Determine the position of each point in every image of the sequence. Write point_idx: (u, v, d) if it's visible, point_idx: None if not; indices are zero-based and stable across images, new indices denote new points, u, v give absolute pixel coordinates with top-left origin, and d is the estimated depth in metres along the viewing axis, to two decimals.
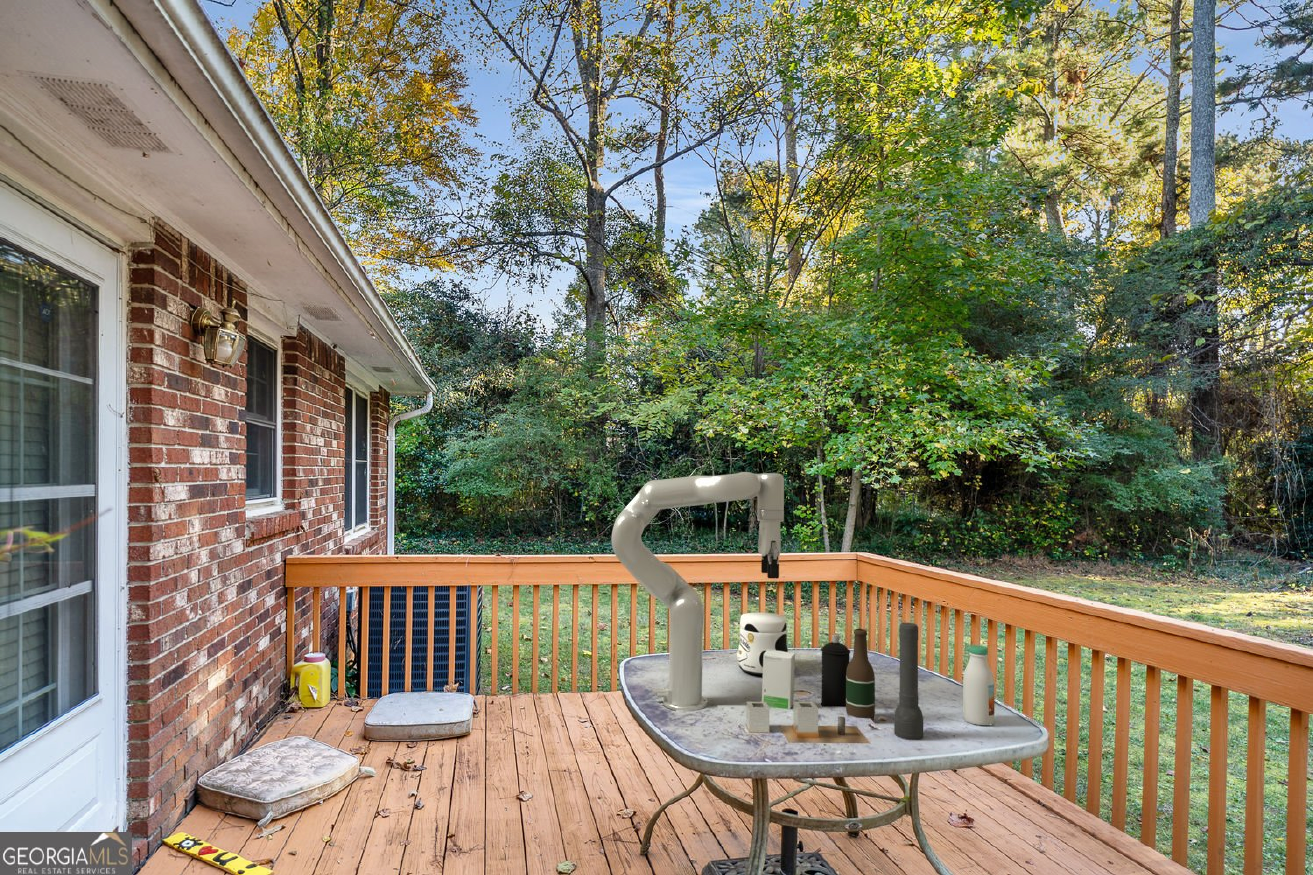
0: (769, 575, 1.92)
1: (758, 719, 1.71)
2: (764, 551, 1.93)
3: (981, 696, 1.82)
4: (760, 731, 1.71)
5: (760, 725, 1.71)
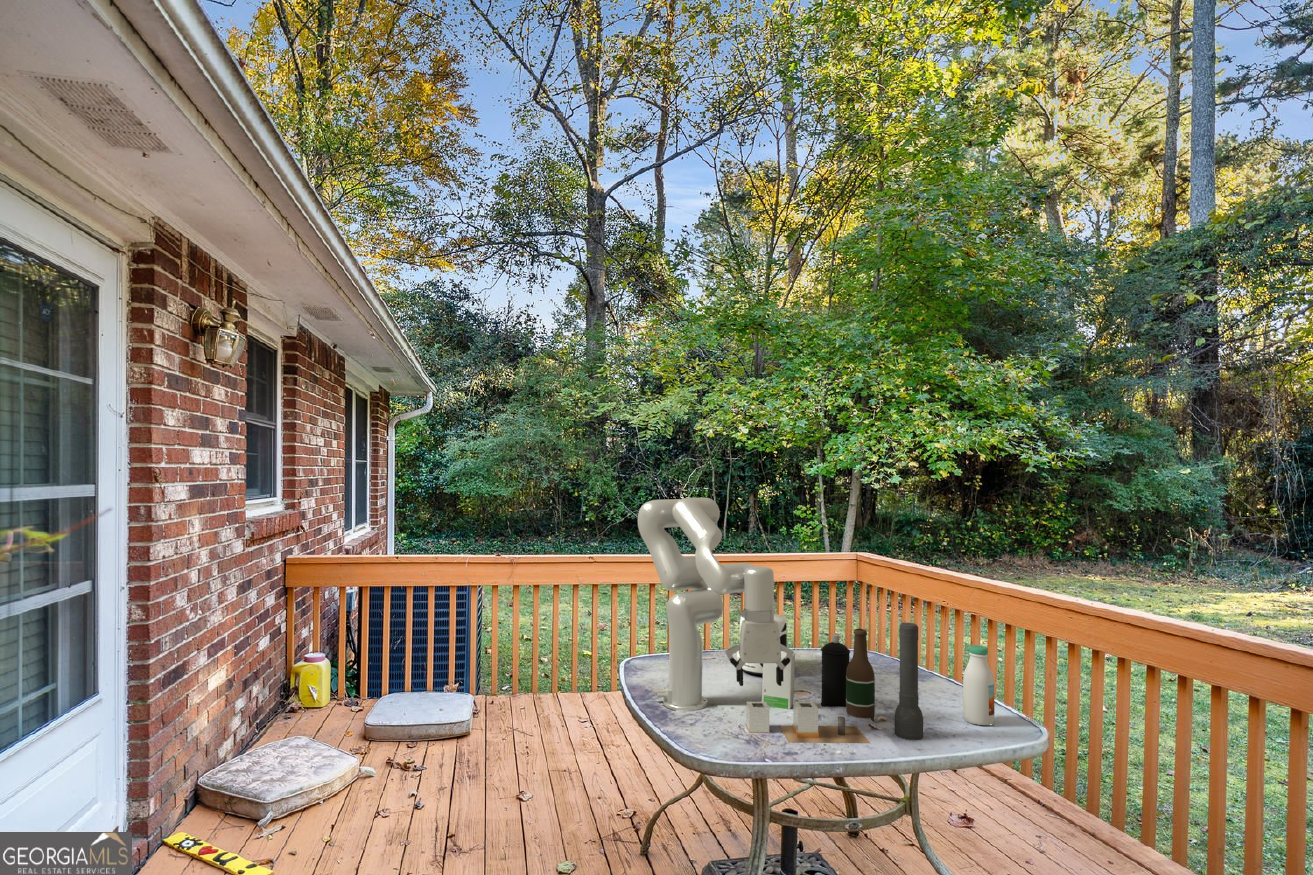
0: None
1: (758, 719, 1.71)
2: (779, 657, 1.72)
3: (981, 696, 1.82)
4: (760, 731, 1.71)
5: (760, 725, 1.71)
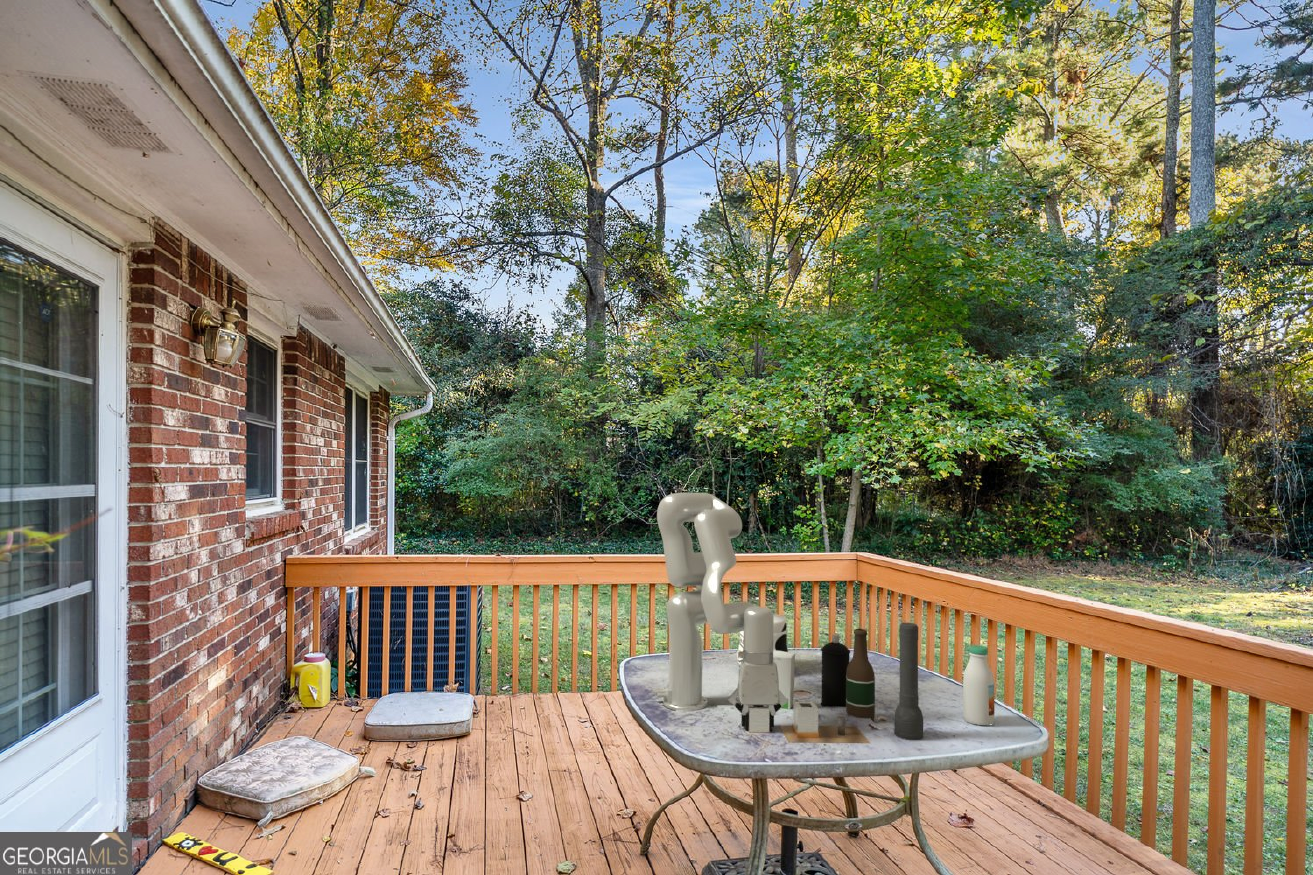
0: None
1: (758, 719, 1.71)
2: (778, 699, 1.72)
3: (981, 696, 1.82)
4: (760, 731, 1.71)
5: (760, 725, 1.71)
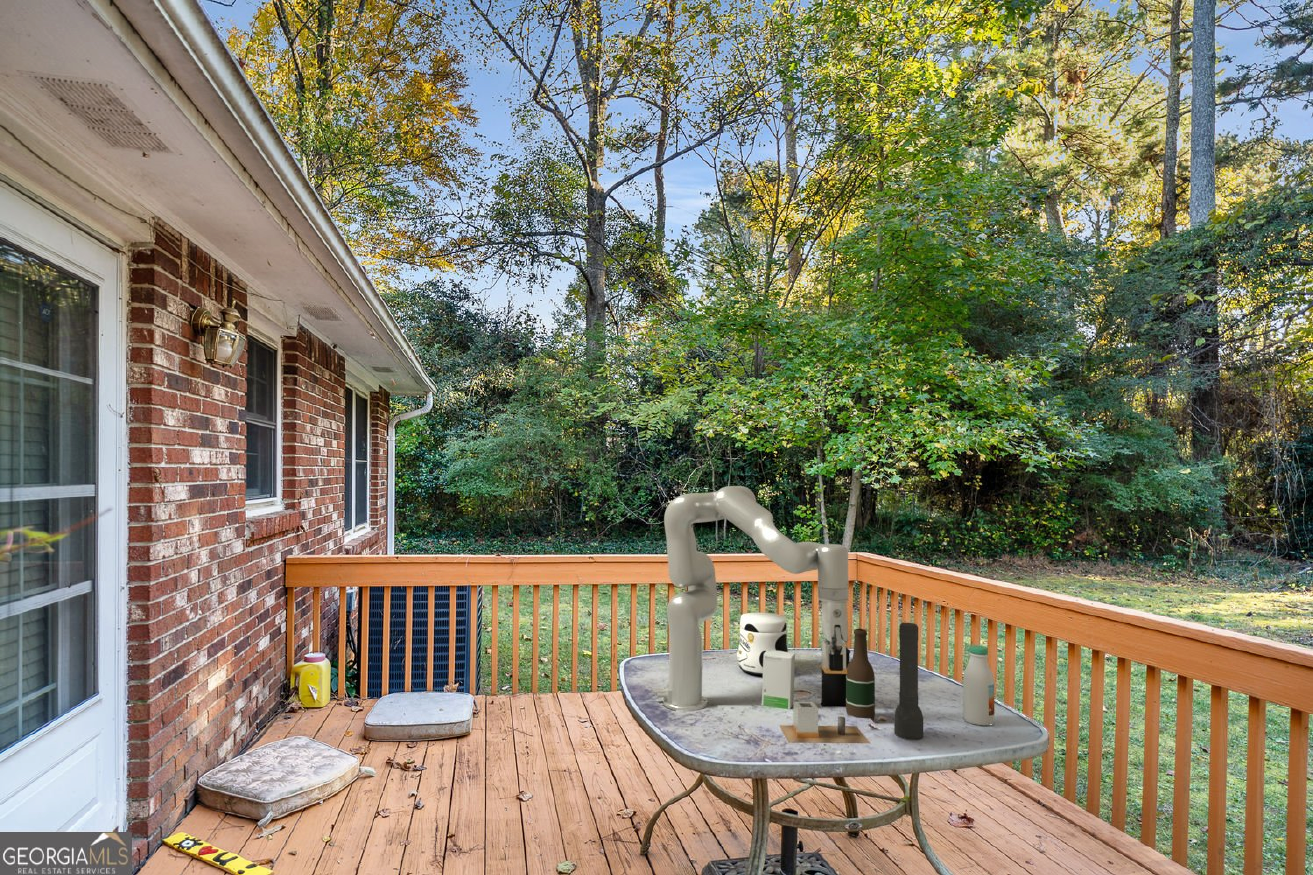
0: None
1: None
2: None
3: (981, 696, 1.82)
4: None
5: None
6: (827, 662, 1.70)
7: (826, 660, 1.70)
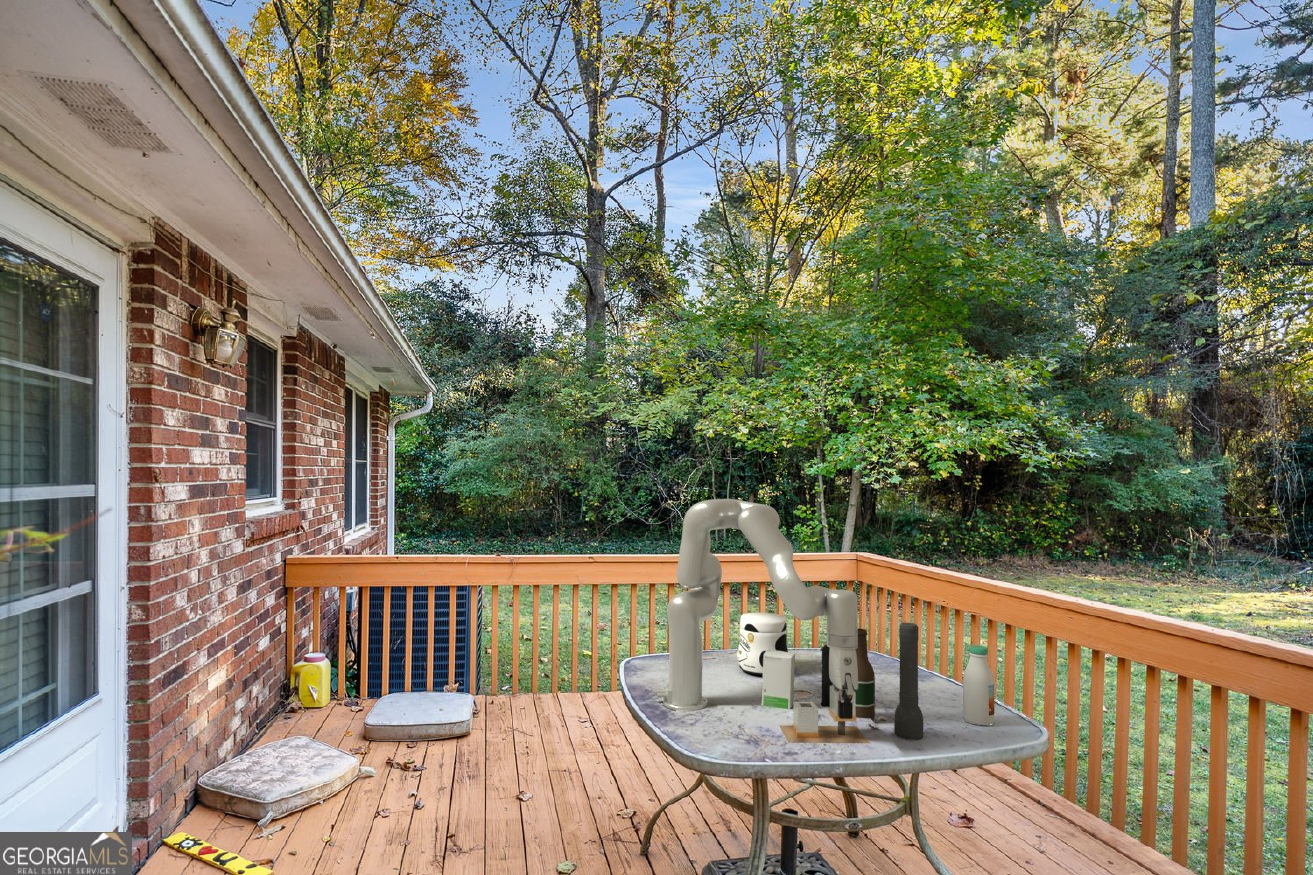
0: None
1: None
2: None
3: (981, 696, 1.82)
4: None
5: None
6: (837, 710, 1.69)
7: (836, 708, 1.69)
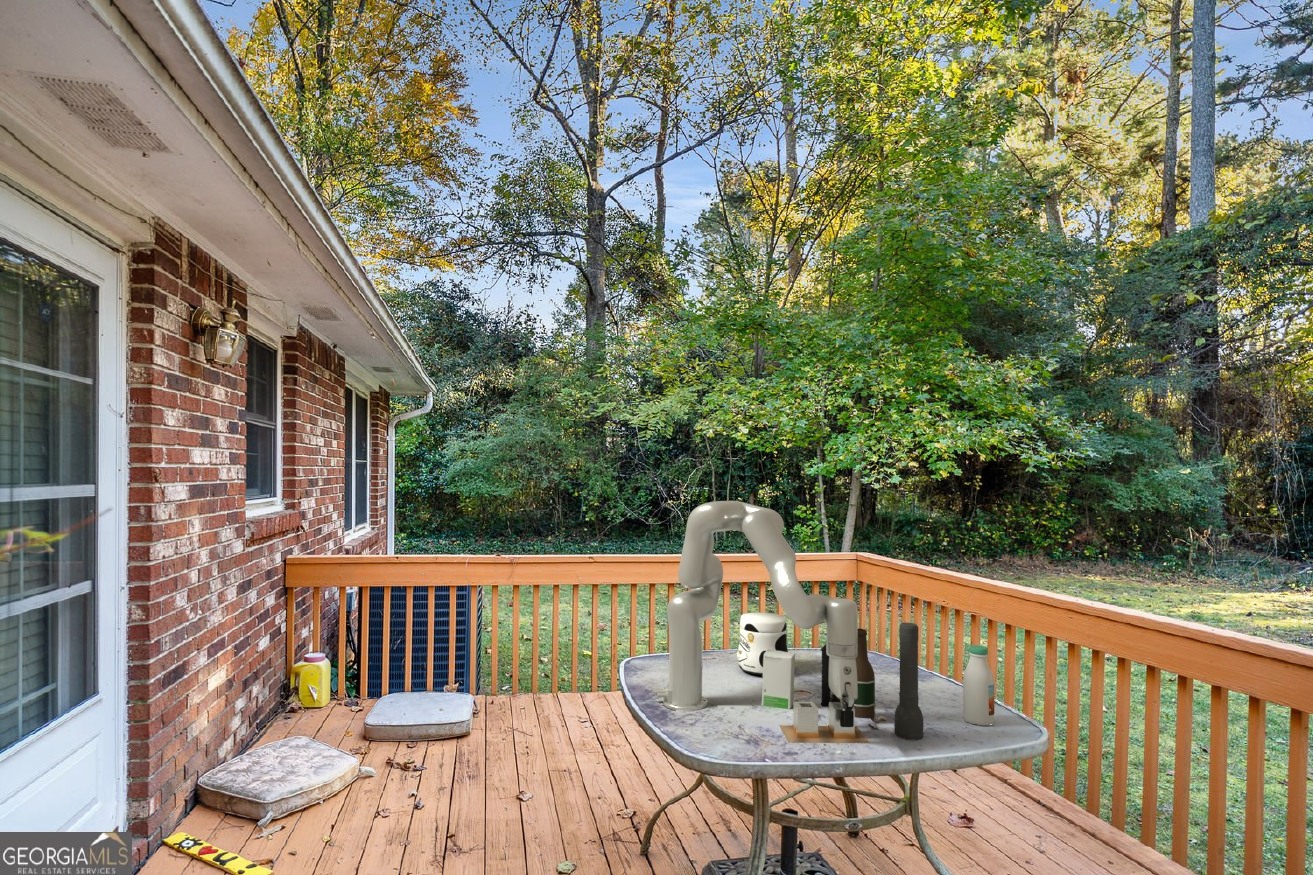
0: None
1: None
2: None
3: (981, 696, 1.82)
4: None
5: None
6: (836, 727, 1.69)
7: (835, 725, 1.69)
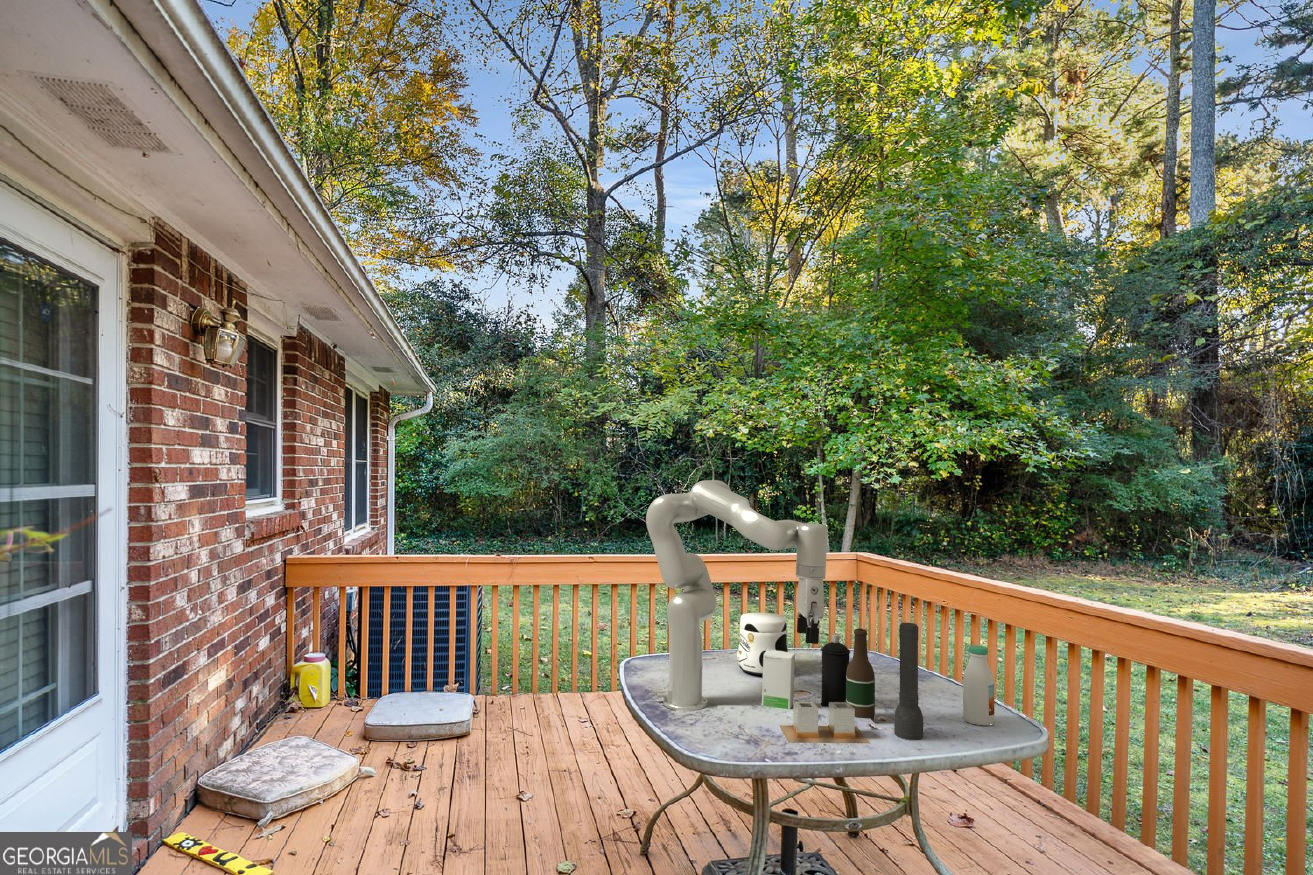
0: None
1: None
2: None
3: (981, 696, 1.82)
4: None
5: None
6: (836, 727, 1.69)
7: (835, 725, 1.69)
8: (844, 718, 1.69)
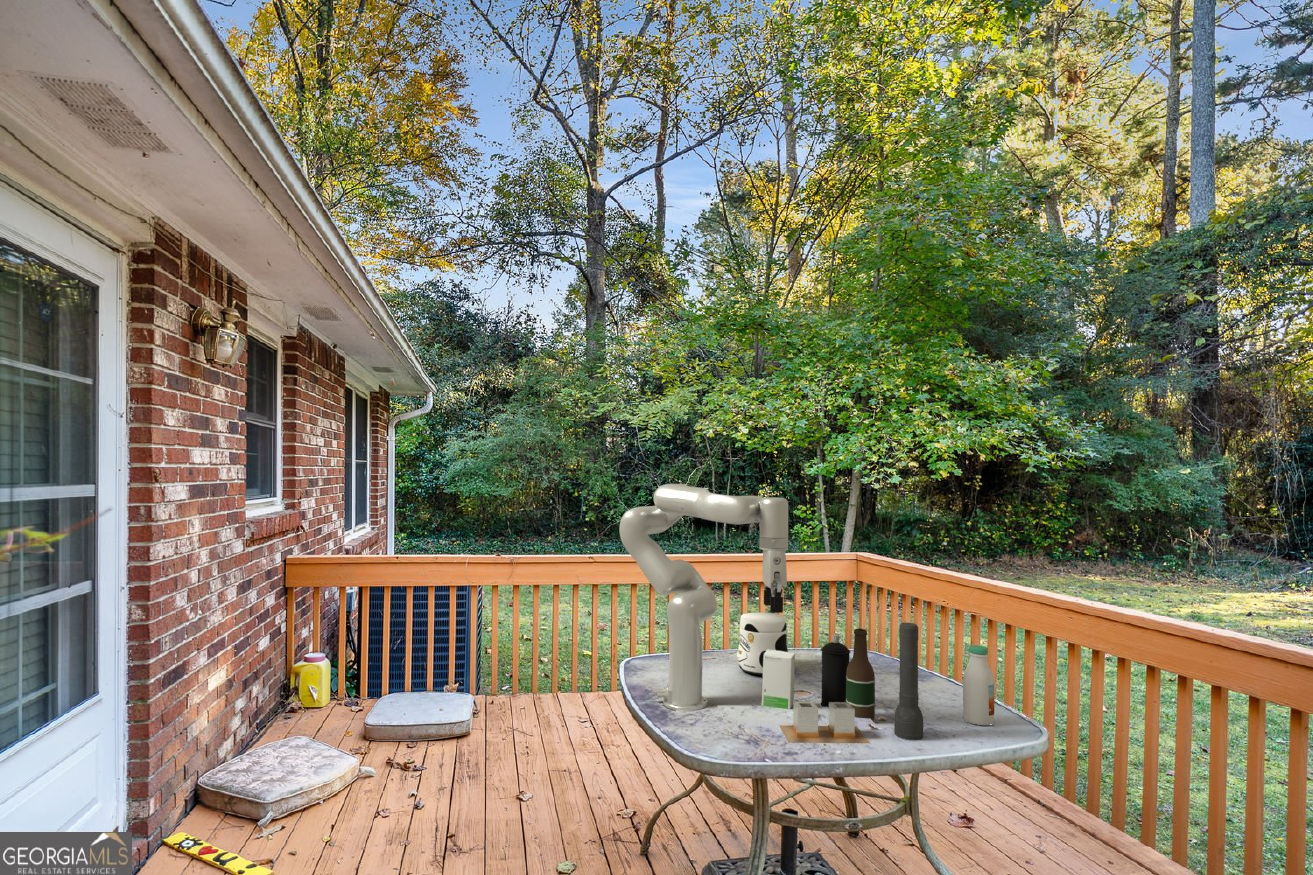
0: None
1: None
2: None
3: (981, 696, 1.82)
4: None
5: None
6: (836, 727, 1.69)
7: (835, 725, 1.69)
8: (844, 718, 1.69)
